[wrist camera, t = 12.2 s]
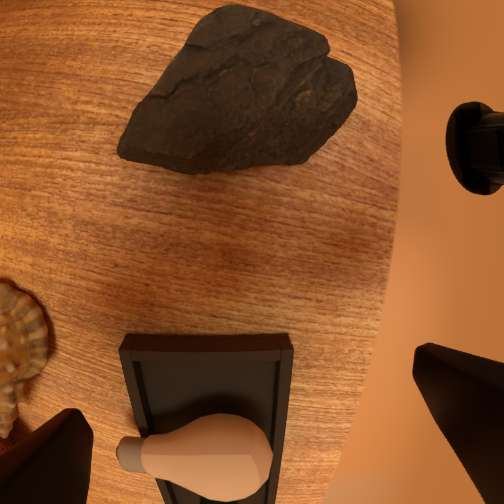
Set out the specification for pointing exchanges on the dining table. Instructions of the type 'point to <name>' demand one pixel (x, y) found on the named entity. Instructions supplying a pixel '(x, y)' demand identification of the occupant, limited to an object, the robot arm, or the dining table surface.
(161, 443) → the light bulb
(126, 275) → the dining table surface
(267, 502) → the tray
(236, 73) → the rock
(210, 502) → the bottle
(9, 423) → the seashell
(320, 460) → the dining table surface
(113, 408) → the dining table surface
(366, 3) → the dining table surface
